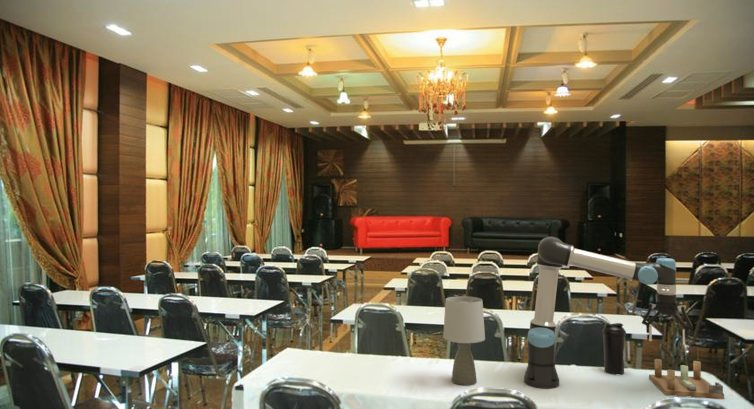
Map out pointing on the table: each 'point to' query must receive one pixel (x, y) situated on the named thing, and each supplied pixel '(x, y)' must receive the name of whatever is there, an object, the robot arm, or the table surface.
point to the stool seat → (674, 386)
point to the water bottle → (614, 348)
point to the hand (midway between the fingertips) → (667, 342)
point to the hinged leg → (686, 378)
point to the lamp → (464, 334)
